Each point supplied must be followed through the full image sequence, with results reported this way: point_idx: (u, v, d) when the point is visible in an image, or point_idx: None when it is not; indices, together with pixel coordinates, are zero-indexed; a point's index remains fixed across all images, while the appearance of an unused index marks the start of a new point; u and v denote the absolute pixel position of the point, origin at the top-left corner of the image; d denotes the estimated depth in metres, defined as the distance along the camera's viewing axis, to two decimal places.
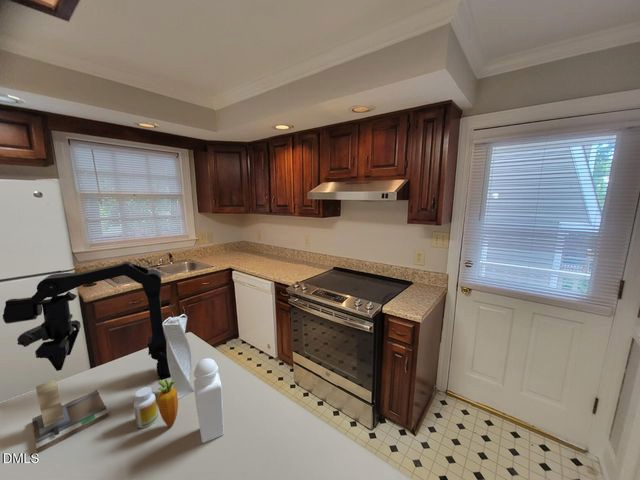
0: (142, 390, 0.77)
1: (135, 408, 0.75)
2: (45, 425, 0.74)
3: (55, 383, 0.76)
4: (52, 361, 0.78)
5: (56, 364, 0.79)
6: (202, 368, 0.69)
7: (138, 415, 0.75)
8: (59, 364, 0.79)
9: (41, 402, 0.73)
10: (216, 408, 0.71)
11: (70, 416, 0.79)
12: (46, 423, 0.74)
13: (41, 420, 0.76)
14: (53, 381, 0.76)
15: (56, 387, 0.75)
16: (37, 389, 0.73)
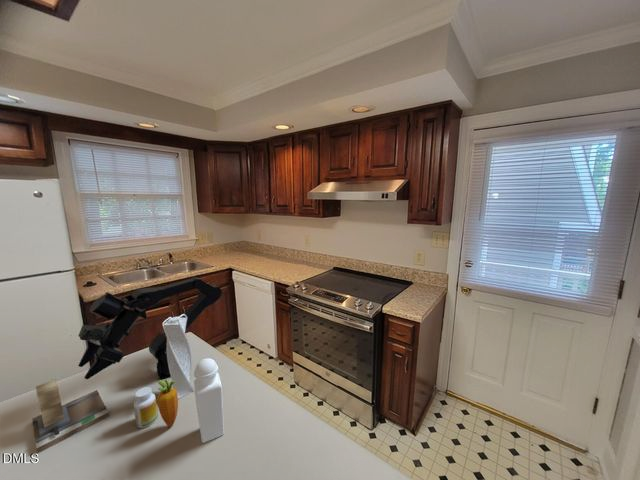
0: (142, 390, 0.77)
1: (135, 408, 0.75)
2: (45, 425, 0.74)
3: (55, 383, 0.76)
4: (94, 366, 0.78)
5: (91, 371, 0.78)
6: (202, 368, 0.69)
7: (138, 415, 0.75)
8: (94, 372, 0.78)
9: (41, 402, 0.73)
10: (216, 408, 0.71)
11: (70, 416, 0.79)
12: (46, 423, 0.74)
13: (41, 420, 0.76)
14: (53, 381, 0.76)
15: (56, 387, 0.75)
16: (37, 389, 0.73)
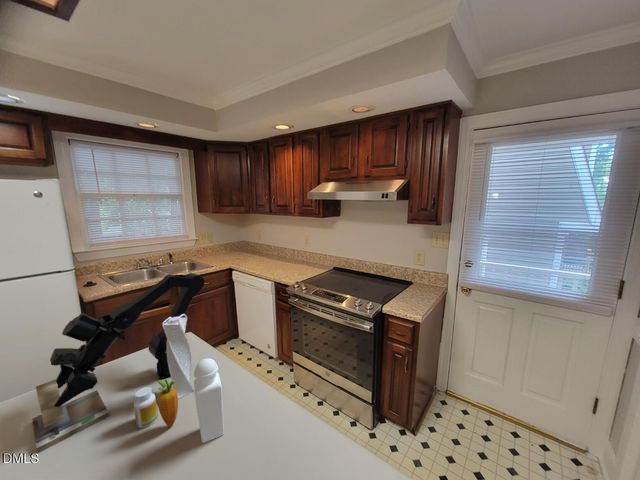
0: (142, 390, 0.77)
1: (135, 408, 0.75)
2: (45, 425, 0.74)
3: (55, 383, 0.76)
4: (65, 393, 0.73)
5: (62, 399, 0.74)
6: (202, 368, 0.69)
7: (138, 415, 0.75)
8: (65, 400, 0.74)
9: (41, 402, 0.73)
10: (216, 408, 0.71)
11: (70, 416, 0.79)
12: (46, 423, 0.74)
13: (41, 420, 0.76)
14: (53, 381, 0.76)
15: (56, 387, 0.75)
16: (37, 389, 0.73)
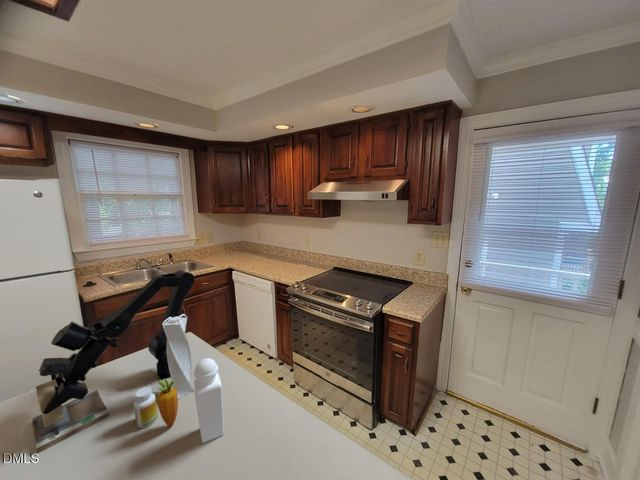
0: (142, 390, 0.77)
1: (135, 408, 0.75)
2: (45, 425, 0.74)
3: (55, 383, 0.76)
4: (54, 400, 0.73)
5: (51, 406, 0.74)
6: (202, 368, 0.69)
7: (138, 415, 0.75)
8: (53, 406, 0.74)
9: (41, 402, 0.73)
10: (216, 408, 0.71)
11: (70, 416, 0.79)
12: (46, 423, 0.74)
13: (41, 420, 0.76)
14: (53, 381, 0.76)
15: None
16: (37, 389, 0.73)
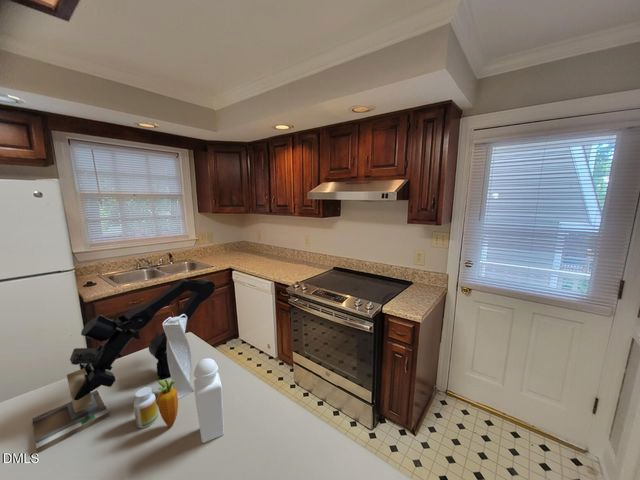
0: (142, 390, 0.77)
1: (135, 408, 0.75)
2: (75, 411, 0.78)
3: (84, 372, 0.80)
4: (84, 387, 0.78)
5: (81, 393, 0.78)
6: (202, 368, 0.69)
7: (138, 415, 0.75)
8: (83, 393, 0.79)
9: (72, 389, 0.77)
10: (216, 408, 0.71)
11: (70, 416, 0.79)
12: (76, 409, 0.79)
13: (71, 406, 0.81)
14: (82, 370, 0.81)
15: None
16: (68, 377, 0.78)
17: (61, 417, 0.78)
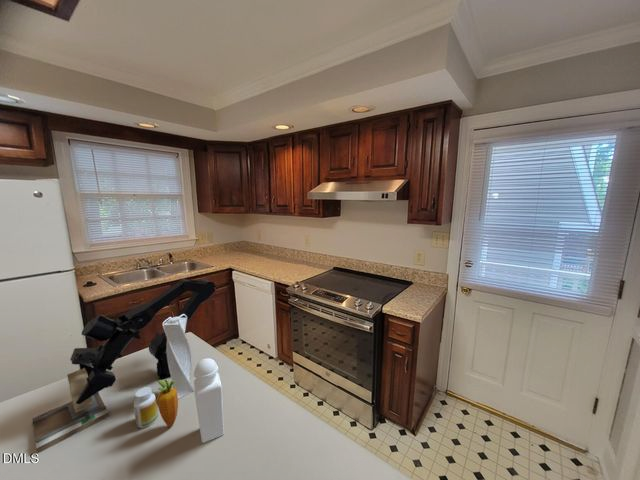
0: (142, 390, 0.77)
1: (135, 408, 0.75)
2: (76, 411, 0.79)
3: (85, 371, 0.80)
4: (86, 391, 0.77)
5: (83, 396, 0.77)
6: (202, 368, 0.69)
7: (138, 415, 0.75)
8: (86, 397, 0.77)
9: (72, 389, 0.77)
10: (216, 408, 0.71)
11: (70, 416, 0.79)
12: (77, 409, 0.79)
13: (71, 406, 0.81)
14: (83, 370, 0.81)
15: (86, 375, 0.80)
16: (69, 377, 0.78)
17: (61, 417, 0.78)
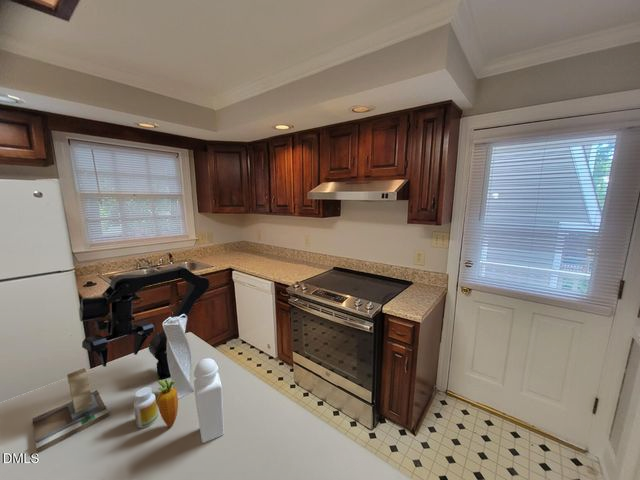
0: (142, 390, 0.77)
1: (135, 408, 0.75)
2: (76, 411, 0.79)
3: (85, 371, 0.80)
4: (98, 355, 0.83)
5: (101, 360, 0.83)
6: (202, 368, 0.69)
7: (138, 415, 0.75)
8: (102, 361, 0.83)
9: (72, 389, 0.77)
10: (216, 408, 0.71)
11: (70, 416, 0.79)
12: (77, 409, 0.79)
13: (71, 406, 0.81)
14: (83, 370, 0.81)
15: (86, 375, 0.80)
16: (69, 377, 0.78)
17: (61, 417, 0.78)
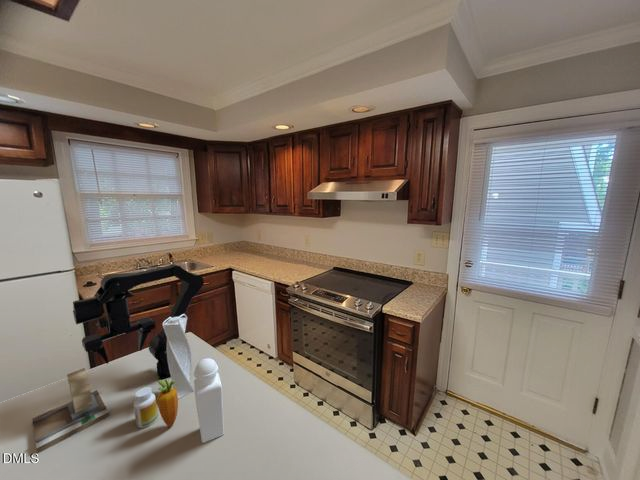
0: (142, 390, 0.77)
1: (135, 408, 0.75)
2: (76, 411, 0.79)
3: (85, 371, 0.80)
4: None
5: None
6: (202, 368, 0.69)
7: (138, 415, 0.75)
8: (103, 358, 0.84)
9: (72, 389, 0.77)
10: (216, 408, 0.71)
11: (70, 416, 0.79)
12: (77, 409, 0.79)
13: (71, 406, 0.81)
14: (83, 370, 0.81)
15: (86, 375, 0.80)
16: (69, 377, 0.78)
17: (61, 417, 0.78)
